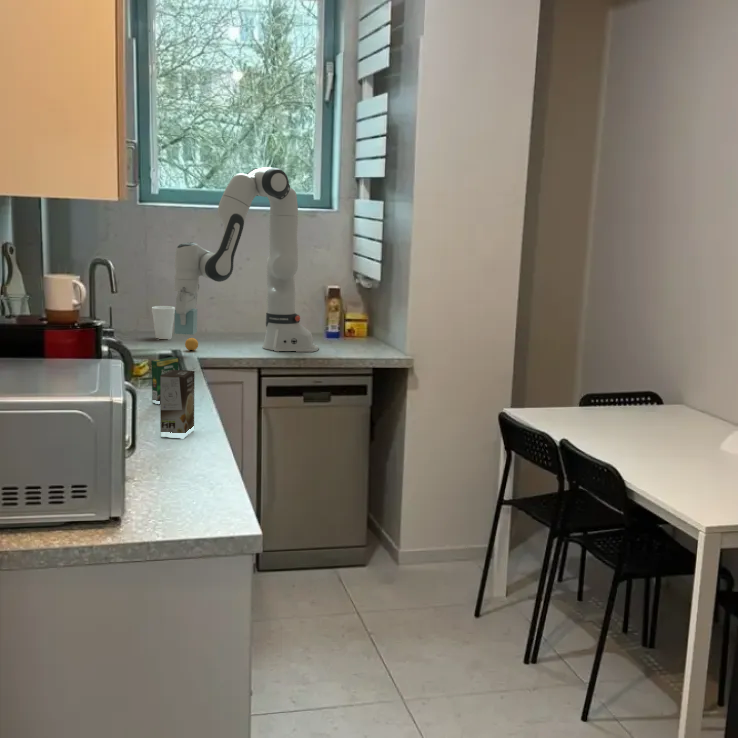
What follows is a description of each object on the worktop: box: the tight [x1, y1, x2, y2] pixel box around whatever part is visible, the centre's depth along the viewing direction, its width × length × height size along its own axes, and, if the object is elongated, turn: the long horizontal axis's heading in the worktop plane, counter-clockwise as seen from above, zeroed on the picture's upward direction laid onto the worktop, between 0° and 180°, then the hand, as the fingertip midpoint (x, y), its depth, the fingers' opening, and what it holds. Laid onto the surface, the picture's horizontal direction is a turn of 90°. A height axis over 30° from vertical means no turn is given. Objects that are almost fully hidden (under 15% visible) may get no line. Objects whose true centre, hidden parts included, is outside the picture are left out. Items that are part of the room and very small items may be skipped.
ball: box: [184, 337, 199, 351], centre depth 348 cm, size 5×5×5 cm
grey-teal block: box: [173, 308, 198, 336], centre depth 337 cm, size 7×7×9 cm
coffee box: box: [159, 369, 196, 433], centre depth 228 cm, size 9×6×16 cm
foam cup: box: [151, 305, 176, 340], centre depth 373 cm, size 10×9×13 cm
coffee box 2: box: [150, 356, 179, 401], centre depth 262 cm, size 8×3×13 cm, turn 139°
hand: (185, 323), depth 337 cm, fingers closed on grey-teal block, 7 cm apart
